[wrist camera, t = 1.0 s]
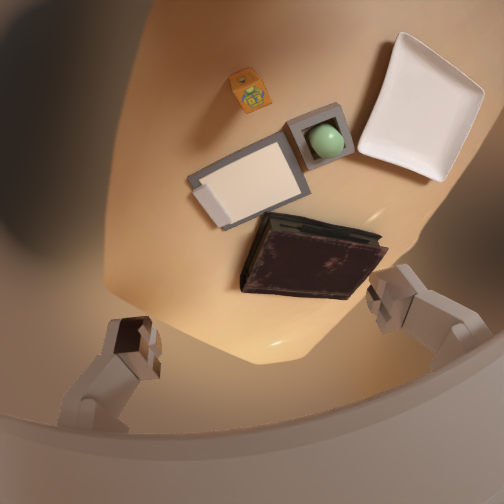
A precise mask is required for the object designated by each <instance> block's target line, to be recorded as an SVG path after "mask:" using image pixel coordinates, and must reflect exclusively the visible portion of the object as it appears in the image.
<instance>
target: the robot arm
mask: <svg viewBox="0 0 504 504" xmlns="http://www.w3.org/2000/svg"><path fill="white" fill-rule="evenodd" d="M369 282H370V283H371V285H370V286H369V287H368V288H367V292H366V300H367V305H368V308H369V309H370V311H371V313H373V314H375V315H377V318H376V322H377V324H378V326H379V328H380V330H381V332H382V333H383V334H385V333H388V332H392V331H395V330H398V329H401V328H402V330H403V331H404V332H406V333H407V334H409V335H410V336H411V337H413V338H414V339H416V340H417V341H418V342H420V343H421V344H422V345H424V346H425V347H427V348H428V349H429V350H431V351H432V352H434V353H435V354H436V355H435V356H434V358H433V360H432V361H431V362H430V365H429V367H430V369H431V372H429V373H427V374H425V375H423V376H420V377H418V378H416V379H414V380H412V381H409V382H407V383H404V384H402V385H400V386H397V387H395V388H392V389H390V390H387V391H384V392H382V393H379V394H376V395H373V396H371V397H368V398H365V399H362V400H359V401H356V402H353V403H350V404H347V405H343V406H340V407H337V408H333V409H330V410H326V411H322V412H319V413H315V414H311V415H307V416H302V417H298V418H294V419H289V420H284V421H279V422H274V423H269V424H264V425H257V426H251V427H244V428H237V429H229V430H220V431H209V432H197V433H179V434H131V433H129V427H128V425H127V424H125V423H124V422H122V421H121V420H120V419H118V417H119V416H120V414H121V412H122V411H123V409H124V407H125V406H126V404H127V402H128V401H129V399H130V397H131V396H132V394H133V392H134V391H135V389H136V387H137V385H138V384H139V383H140V381H141V380H152V379H160V370H161V363H160V362H159V360H158V358H159V356H160V355H161V354H162V343H161V338H160V335H159V333H158V331H157V330H156V329H154V328H152V321H151V319H150V318H149V316H141V317H131V318H122V319H114V320H111V321H110V322H109V324H108V327H107V331H106V335H105V339H104V343H103V348H102V351H101V355H97V356H96V358H95V359H94V360H93V361H92V362H91V363H90V365H89V366H88V367H87V368H86V369H85V371H84V372H83V373H82V374H81V375H80V376H79V377H78V379H77V380H76V381H75V382H74V383H73V384H72V386H71V387H70V388H69V389H68V391H67V392H66V393H65V394H64V395H63V398H62V402H61V407H60V412H59V418H58V424H57V426H55V425H50V424H45V423H40V422H36V421H31V420H27V419H23V418H19V417H15V416H11V415H8V414H5V413H1V412H0V504H504V330H503V331H501V332H500V333H499V334H497V335H495V336H493V335H492V333H491V332H490V330H489V329H488V328H487V326H486V325H485V323H484V322H483V320H482V319H481V318H480V316H479V315H478V313H476V312H474V311H472V310H470V309H468V308H466V307H464V306H462V305H460V304H458V303H456V302H454V301H452V300H450V299H448V298H446V297H445V296H442V295H440V294H438V293H436V292H434V291H432V290H429V291H428V290H427V288H426V287H425V286H424V285H423V283H422V282H421V281H420V279H419V278H418V277H417V276H416V274H415V273H414V272H413V271H412V269H411V268H410V267H409V266H408V265H407V264H401V265H397V266H394V267H390V268H386V269H382V270H378V271H374V272H372V273H371V274H370V276H369Z"/></svg>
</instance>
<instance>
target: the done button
mask: <svg viewBox="0 0 504 504" xmlns="http://www.w3.org/2000/svg"><path fill="white" fill-rule="evenodd" d="M309 143H310V144H311V146H312V147H313V149H314V150H315V152H316V153H317V154H318V155H319V156H320V157H322V158H325V159H331V158H334V157H336V156H338V155H339V154H340V153H341V152H342V150H343V148H344V139H343V137H342V135H341V134H340V133H339V132H338V131H337V130H336V129H335V128H334V127H333V126H331V125H330V124H326V123H321V124H318V125H316V126H314V127H313V128H312V129H311V131H310V133H309Z"/></svg>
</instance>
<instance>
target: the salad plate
mask: <svg viewBox="0 0 504 504" xmlns="http://www.w3.org/2000/svg"><path fill="white" fill-rule="evenodd" d="M484 96H485V92H484V90H483V89H482V88H481V87H480V86H479V85H478V84H476V83H475V82H474V81H473V80H471V79H470V78H469V77H468V76H466V75H465V74H464V73H462V72H461V71H460V70H459V69H457V68H456V67H455V66H453V65H452V64H451V63H449V62H448V61H447V60H445V59H444V58H442V57H441V56H440V55H438V54H437V53H436V52H434V51H433V50H432V49H430V48H429V47H428V46H426V45H425V44H423V43H422V42H420V41H419V40H417V39H416V38H414V37H413V36H411V35H409V34H407V33H405V32H400V33H399V34H398V35H397V37H396V41H395V44H394V47H393V50H392V54H391V58H390V61H389V65H388V68H387V72H386V75H385V78H384V81H383V84H382V87H381V90H380V93H379V95H378V98H377V100H376V103H375V105H374V107H373V110H372V112H371V114H370V117H369V119H368V121H367V123H366V126H365V128H364V130H363V132H362V134H361V137H360V139H359V142H358V144H357V150H358V152H359V153H361V154H363V155H366V156H369V157H372V158H376V159H379V160H382V161H385V162H388V163H391V164H394V165H397V166H400V167H403V168H406V169H409V170H411V171H414V172H416V173H418V174H421V175H423V176H425V177H427V178H430V179H432V180H434V181H437V182H443V181H444V180H445V179H446V177H447V175H448V174H449V172H450V170H451V168H452V166H453V164H454V162H455V160H456V158H457V157H458V155H459V153H460V151H461V148H462V146H463V144H464V142H465V140H466V138H467V136H468V134H469V132H470V130H471V127H472V125H473V123H474V121H475V118H476V116H477V114H478V111H479V109H480V106H481V104H482V101H483V99H484Z"/></svg>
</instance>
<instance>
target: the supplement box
mask: <svg viewBox="0 0 504 504" xmlns="http://www.w3.org/2000/svg"><path fill="white" fill-rule="evenodd" d="M229 80H230V84H231V88H232V93H233V95H234V96H235V98H236V99H237V101H238V103H239V104H240V106H241V107H242V109H243V110H244V112H245V113H246V114H248V113H251V112H253V111H255V110H257V109H260V108H262V107H264V106H267V105H269V104H272V100H271V98H270V96H269V94H268V92H267V90H266V88H265V85H264V83H263V81H262V80H261V79H260V77H259V76H258V75H257V74H256V73H255V72H254V71H253V70H252V68H251V67H249V68H247V69H244V70H242V71H240V72H237V73H235V74H233V75H231V76H229Z"/></svg>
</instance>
